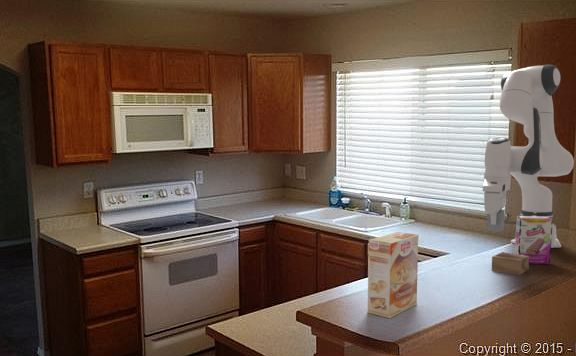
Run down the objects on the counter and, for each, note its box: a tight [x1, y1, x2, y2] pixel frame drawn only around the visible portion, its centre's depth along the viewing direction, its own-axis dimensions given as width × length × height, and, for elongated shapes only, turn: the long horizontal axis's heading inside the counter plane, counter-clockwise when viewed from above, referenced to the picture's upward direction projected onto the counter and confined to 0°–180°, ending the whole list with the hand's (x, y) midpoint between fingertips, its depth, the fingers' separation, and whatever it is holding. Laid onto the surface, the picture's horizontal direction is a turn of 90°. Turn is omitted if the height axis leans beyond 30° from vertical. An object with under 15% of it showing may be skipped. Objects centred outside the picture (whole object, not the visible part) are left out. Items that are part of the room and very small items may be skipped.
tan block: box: [491, 251, 530, 276], centre depth 190 cm, size 9×9×5 cm
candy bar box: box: [514, 215, 554, 265], centre depth 199 cm, size 11×5×16 cm, turn 84°
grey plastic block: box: [486, 209, 506, 233], centre depth 200 cm, size 5×5×7 cm
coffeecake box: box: [367, 231, 419, 319], centre depth 149 cm, size 15×7×20 cm, turn 139°
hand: (495, 222), depth 200 cm, fingers closed on grey plastic block, 5 cm apart
